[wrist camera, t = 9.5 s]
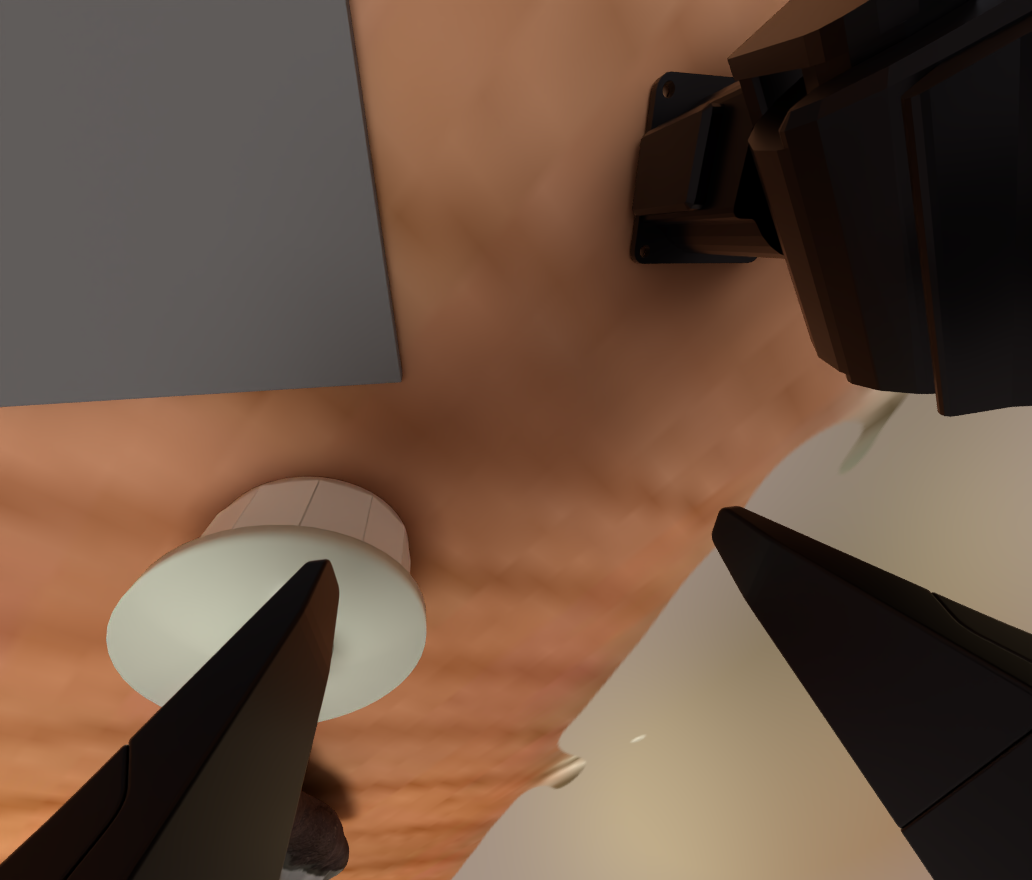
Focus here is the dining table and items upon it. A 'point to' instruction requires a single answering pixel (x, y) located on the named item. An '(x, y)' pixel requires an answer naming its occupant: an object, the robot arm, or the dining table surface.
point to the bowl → (319, 512)
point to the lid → (246, 588)
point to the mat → (186, 202)
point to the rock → (315, 843)
